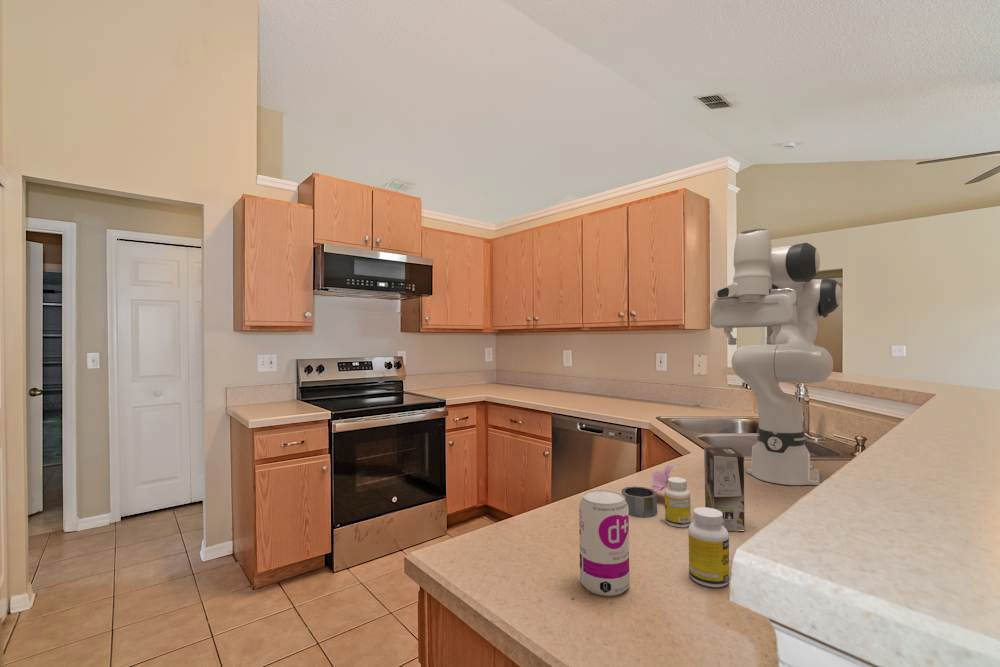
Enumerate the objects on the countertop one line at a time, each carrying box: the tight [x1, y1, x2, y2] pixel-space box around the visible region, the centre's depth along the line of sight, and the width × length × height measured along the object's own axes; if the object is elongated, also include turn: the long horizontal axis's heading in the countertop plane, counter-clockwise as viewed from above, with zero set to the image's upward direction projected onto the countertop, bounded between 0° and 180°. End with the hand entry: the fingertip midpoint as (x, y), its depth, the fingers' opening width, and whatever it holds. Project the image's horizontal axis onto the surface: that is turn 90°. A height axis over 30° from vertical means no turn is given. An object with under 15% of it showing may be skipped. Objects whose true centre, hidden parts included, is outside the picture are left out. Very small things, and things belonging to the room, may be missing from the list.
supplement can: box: [578, 489, 630, 597], centre depth 81 cm, size 8×8×15 cm
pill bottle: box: [687, 506, 730, 588], centre depth 82 cm, size 6×6×12 cm
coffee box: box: [703, 446, 745, 532], centre depth 106 cm, size 9×6×16 cm
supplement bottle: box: [664, 476, 692, 528], centre depth 107 cm, size 5×5×10 cm
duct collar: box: [621, 486, 658, 518], centre depth 114 cm, size 8×8×4 cm
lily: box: [650, 461, 678, 494], centre depth 122 cm, size 12×12×10 cm
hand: (751, 344), depth 121 cm, fingers open, 8 cm apart
